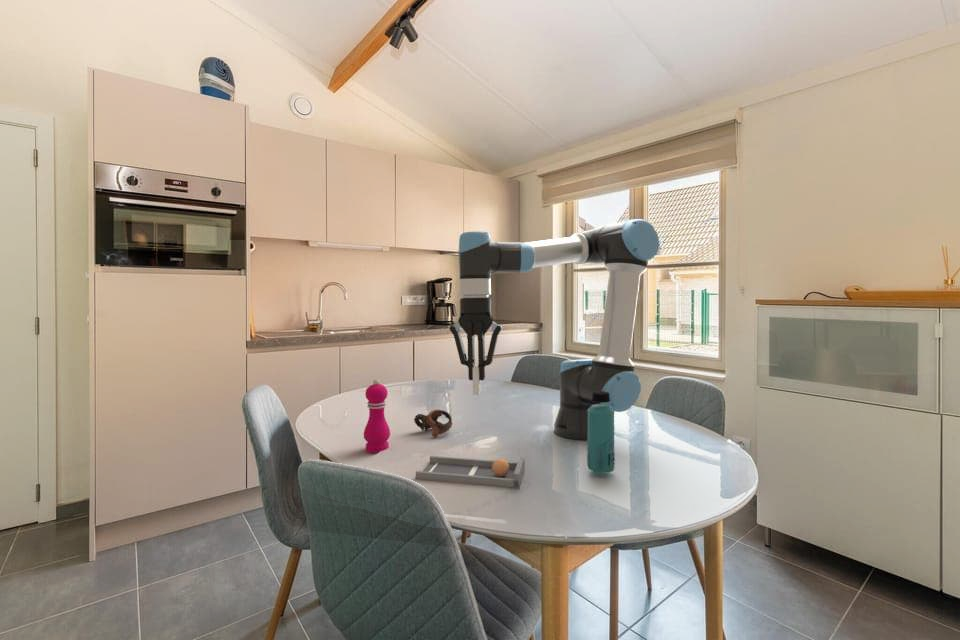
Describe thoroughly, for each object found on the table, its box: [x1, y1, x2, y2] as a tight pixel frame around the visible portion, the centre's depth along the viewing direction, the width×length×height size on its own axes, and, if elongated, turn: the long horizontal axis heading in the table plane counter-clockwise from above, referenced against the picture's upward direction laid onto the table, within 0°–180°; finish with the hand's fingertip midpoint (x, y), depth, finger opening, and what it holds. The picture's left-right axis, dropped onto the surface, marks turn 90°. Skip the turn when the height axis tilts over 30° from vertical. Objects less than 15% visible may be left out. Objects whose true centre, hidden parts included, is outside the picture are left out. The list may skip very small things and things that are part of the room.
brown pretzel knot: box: [413, 409, 453, 438], centre depth 140 cm, size 12×10×8 cm
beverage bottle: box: [586, 391, 616, 474], centre depth 107 cm, size 6×7×20 cm
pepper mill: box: [363, 378, 391, 454], centre depth 125 cm, size 7×7×20 cm
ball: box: [492, 458, 509, 477], centre depth 105 cm, size 4×4×4 cm
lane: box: [415, 455, 526, 491], centre depth 107 cm, size 24×11×4 cm, turn 78°
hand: (477, 393), depth 110 cm, fingers closed
